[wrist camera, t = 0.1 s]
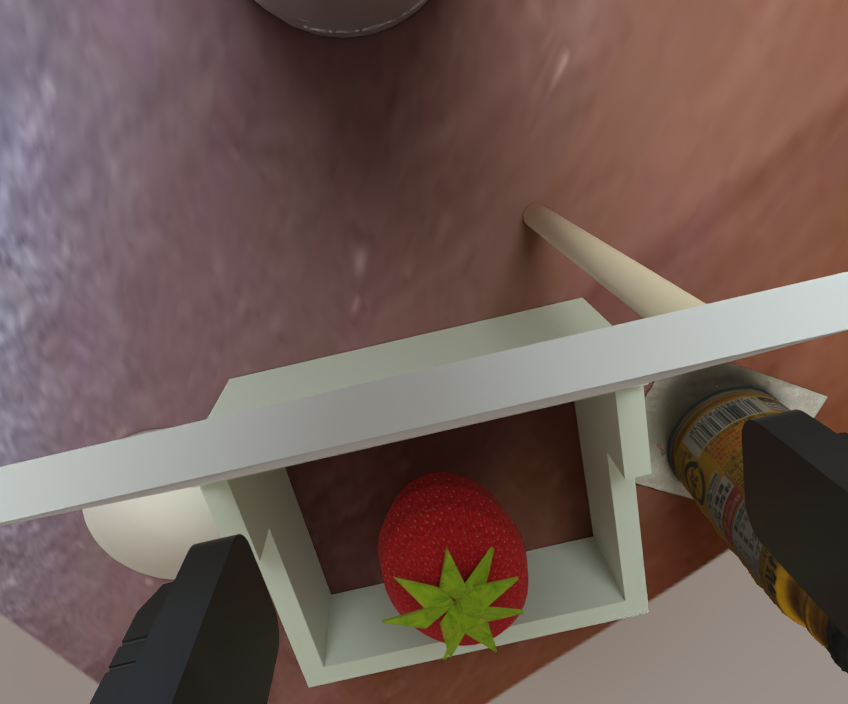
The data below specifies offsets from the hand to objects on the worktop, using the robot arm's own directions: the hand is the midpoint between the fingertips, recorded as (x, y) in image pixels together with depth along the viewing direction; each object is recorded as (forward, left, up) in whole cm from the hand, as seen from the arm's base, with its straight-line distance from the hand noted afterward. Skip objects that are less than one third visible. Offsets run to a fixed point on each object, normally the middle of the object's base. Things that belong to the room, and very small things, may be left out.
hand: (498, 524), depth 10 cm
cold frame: (+7, -2, -17) cm, 19 cm away
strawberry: (+11, -2, -18) cm, 21 cm away
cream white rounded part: (+9, -14, -17) cm, 24 cm away
